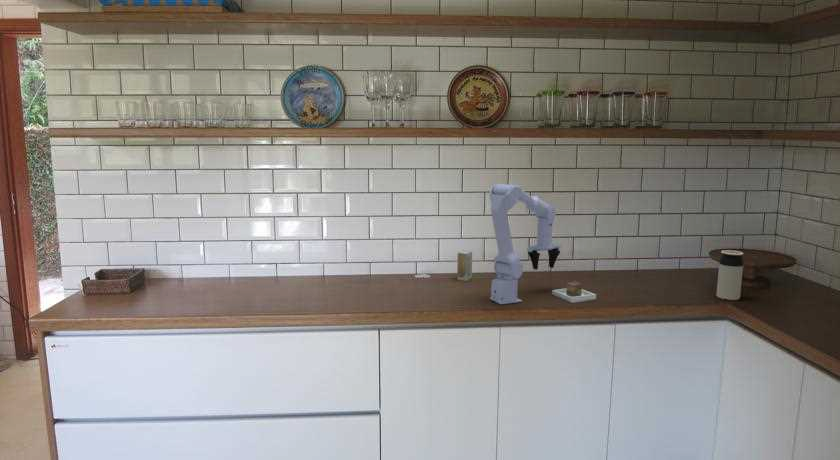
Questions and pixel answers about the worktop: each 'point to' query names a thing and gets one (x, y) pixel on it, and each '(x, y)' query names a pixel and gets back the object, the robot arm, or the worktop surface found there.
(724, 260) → the travel mug
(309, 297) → the worktop surface
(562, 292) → the tray
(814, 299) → the worktop surface
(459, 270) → the skincare box
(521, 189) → the robot arm
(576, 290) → the walnut block
